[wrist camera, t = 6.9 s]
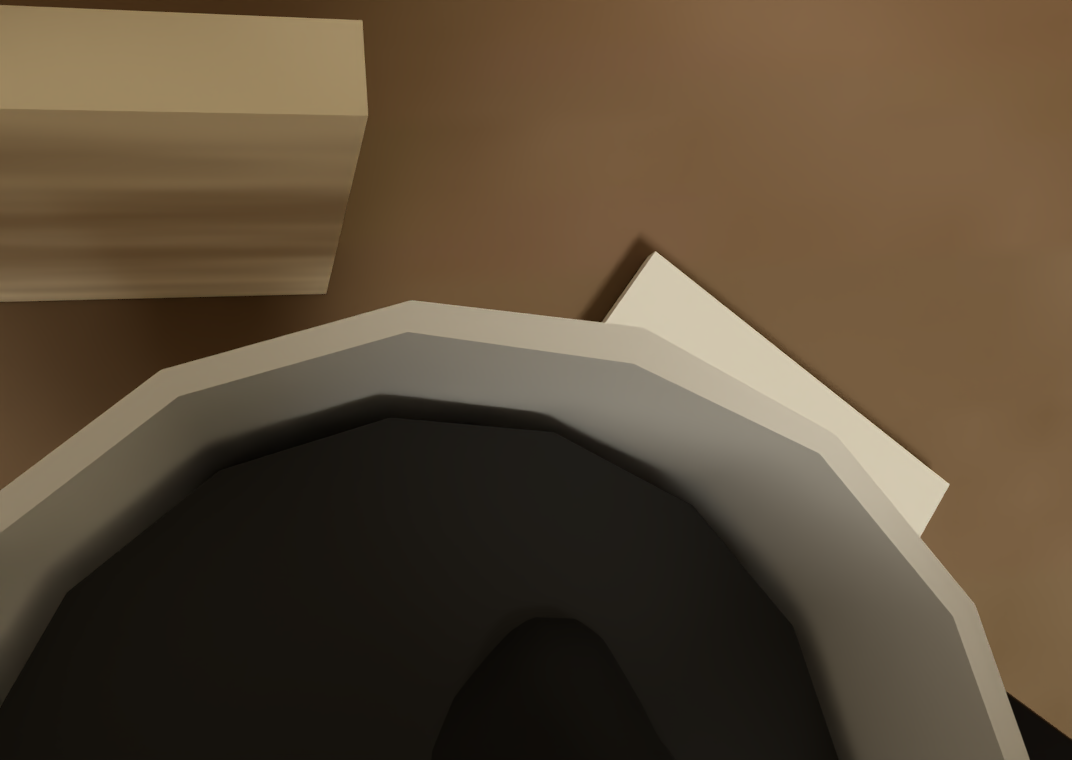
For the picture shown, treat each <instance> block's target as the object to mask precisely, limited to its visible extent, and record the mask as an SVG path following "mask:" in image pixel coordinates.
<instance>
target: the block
mask: <svg viewBox="0 0 1072 760" xmlns="http://www.w3.org/2000/svg"><path fill="white" fill-rule="evenodd" d="M367 119H368V104H367V88H366V72H365V56H364V39H363V23H362V20H343V19H319V18H295V17H272V16H248V15H224V14H200V13H177V12H153V11H129V10H105V9H82V8H58V7H34V6H10V5H0V302H15V301H56V300H96V299H137V298H177V297H218V296H259V295H299V294H326V292H327V288H328V284H329V280H330V276H331V271H332V267H333V263H334V259H335V254H336V250H337V246H338V242H339V237H340V233H341V229H342V225H343V220H344V216H345V212H346V208H347V203H348V199H349V195H350V191H351V186H352V182H353V178H354V174H355V170H356V165H357V161H358V157H359V153H360V148H361V144H362V140H363V136H364V131H365V127H366V123H367Z"/></svg>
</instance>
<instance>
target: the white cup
mask: <svg viewBox="0 0 1072 760" xmlns="http://www.w3.org/2000/svg"><path fill="white" fill-rule="evenodd" d="M0 760H1030V759H1029V756H1028V753H1027V750H1026V747H1025V745H1024V742H1023V739H1022V736H1021V733H1020V731H1019V728H1018V725H1017V722H1016V719H1015V716H1014V714H1013V711H1012V708H1011V705H1010V702H1009V699H1008V697H1007V694H1006V691H1005V688H1004V685H1003V682H1002V680H1001V677H1000V674H999V671H998V668H997V665H996V663H995V660H994V657H993V654H992V651H991V648H990V646H989V643H988V640H987V637H986V634H985V632H984V629H983V626H982V623H981V620H980V617H979V615H978V612H977V609H976V606H975V604H974V603H973V601H972V600H971V599H970V598H969V597H968V595H967V594H966V593H965V592H964V590H963V589H962V588H961V587H960V586H959V584H958V583H957V582H956V581H955V579H954V578H953V577H952V576H951V575H950V573H949V572H948V571H947V570H946V569H945V567H944V566H943V565H942V564H941V562H940V561H939V560H938V559H937V558H936V556H935V555H934V554H933V553H932V551H931V550H930V549H929V548H928V547H927V545H926V544H925V543H924V542H923V540H922V539H921V538H920V537H919V536H918V534H917V533H916V532H915V531H914V529H913V528H912V527H911V526H910V525H909V523H908V522H907V521H906V520H905V519H904V517H903V516H902V515H901V514H900V512H899V511H898V510H897V509H896V508H895V506H894V505H893V504H892V503H891V501H890V500H889V499H888V498H887V497H886V495H885V494H884V493H883V492H882V490H881V489H880V488H879V487H878V486H877V484H876V483H875V482H874V481H873V480H872V478H871V477H870V476H869V475H868V473H867V472H866V471H865V470H864V469H863V467H862V466H861V465H860V464H859V462H858V461H857V460H856V459H855V458H854V456H853V455H852V454H851V453H850V451H849V450H848V449H847V448H846V447H845V445H844V444H843V443H842V442H841V441H840V439H839V438H838V437H837V436H836V434H834V433H832V432H830V431H828V430H827V429H825V428H823V427H821V426H820V425H818V424H816V423H814V422H812V421H811V420H809V419H807V418H805V417H803V416H802V415H800V414H798V413H796V412H794V411H793V410H791V409H789V408H787V407H785V406H784V405H782V404H780V403H778V402H776V401H775V400H773V399H771V398H769V397H767V396H766V395H764V394H762V393H760V392H758V391H757V390H755V389H753V388H751V387H749V386H748V385H746V384H744V383H742V382H740V381H739V380H737V379H735V378H733V377H731V376H730V375H728V374H726V373H724V372H722V371H721V370H719V369H717V368H715V367H714V366H712V365H710V364H708V363H706V362H705V361H703V360H701V359H699V358H697V357H696V356H694V355H692V354H690V353H688V352H687V351H685V350H683V349H681V348H679V347H678V346H676V345H674V344H672V343H670V342H669V341H667V340H665V339H663V338H661V337H660V336H658V335H656V334H654V333H652V332H651V331H649V330H647V329H645V328H643V327H636V326H627V325H619V324H610V323H602V322H593V321H585V320H576V319H568V318H559V317H550V316H542V315H533V314H525V313H516V312H508V311H499V310H491V309H482V308H473V307H465V306H456V305H448V304H439V303H431V302H422V301H414V300H410V301H407V302H403V303H399V304H396V305H392V306H389V307H385V308H381V309H378V310H374V311H371V312H367V313H363V314H360V315H356V316H353V317H349V318H346V319H342V320H338V321H335V322H331V323H328V324H324V325H320V326H317V327H313V328H310V329H306V330H302V331H299V332H295V333H292V334H288V335H284V336H281V337H277V338H274V339H270V340H266V341H263V342H259V343H256V344H252V345H249V346H245V347H241V348H238V349H234V350H231V351H227V352H223V353H220V354H216V355H213V356H209V357H205V358H202V359H198V360H195V361H191V362H187V363H184V364H180V365H177V366H173V367H169V368H166V369H162V370H160V371H159V372H157V373H156V374H155V375H153V376H152V377H151V378H149V379H148V380H147V381H145V382H144V383H143V384H141V385H140V386H139V387H137V388H136V389H135V390H133V391H132V392H131V393H129V394H128V395H127V396H125V397H124V398H123V399H121V400H120V401H119V402H117V403H116V404H115V405H113V406H112V407H111V408H109V409H108V410H107V411H105V412H104V413H103V414H101V415H100V416H99V417H97V418H96V419H95V420H93V421H92V422H91V423H89V424H88V425H87V426H85V427H84V428H83V429H81V430H80V431H79V432H77V433H76V434H75V435H73V436H72V437H71V438H69V439H68V440H67V441H65V442H64V443H63V444H61V445H60V446H59V447H57V448H56V449H55V450H53V451H52V452H51V453H50V454H48V455H47V456H46V457H44V458H43V459H42V460H40V461H39V462H38V463H36V464H35V465H34V466H32V467H31V468H30V469H28V470H27V471H26V472H24V473H23V474H22V475H20V476H19V477H18V478H16V479H15V480H14V481H12V482H11V483H10V484H8V485H7V486H6V487H4V488H3V489H2V490H0Z"/></svg>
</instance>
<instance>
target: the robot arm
mask: <svg viewBox="0 0 1072 760" xmlns="http://www.w3.org/2000/svg"><path fill="white" fill-rule="evenodd" d="M1006 694H1007V697H1008V699H1009V702H1010V705H1011V708H1012V711H1013V714H1014V716H1015V719H1016V722H1017V725H1018V728H1019V731H1020V733H1021V736H1022V739H1023V742H1024V745H1025V747H1026V750H1027V753H1028V756H1029V759H1030V760H1072V739H1071V738H1069V737H1068V736H1066V735H1065V734H1064V733H1062V732H1061V731H1060V730H1058V729H1057V728H1056V727H1054V726H1053V725H1051V724H1050V723H1049V722H1047V721H1046V720H1045V719H1043V718H1042V717H1041V716H1039V715H1038V714H1036V713H1035V712H1034V711H1032V710H1031V709H1030V708H1028V707H1027V706H1026V705H1024V704H1023V703H1021V702H1020V701H1019V700H1017V699H1016V698H1015V697H1013V696H1012V695H1011V694H1009V693H1008V692H1006Z"/></svg>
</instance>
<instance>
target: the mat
mask: <svg viewBox="0 0 1072 760" xmlns="http://www.w3.org/2000/svg"><path fill="white" fill-rule="evenodd" d="M602 323H610V324H619V325H627V326H636V327H643V328H645V329H647V330H649V331H651V332H652V333H654V334H656V335H658V336H660V337H661V338H663V339H665V340H667V341H669V342H670V343H672V344H674V345H676V346H678V347H679V348H681V349H683V350H685V351H687V352H688V353H690V354H692V355H694V356H696V357H697V358H699V359H701V360H703V361H705V362H706V363H708V364H710V365H712V366H714V367H715V368H717V369H719V370H721V371H722V372H724V373H726V374H728V375H730V376H731V377H733V378H735V379H737V380H739V381H740V382H742V383H744V384H746V385H748V386H749V387H751V388H753V389H755V390H757V391H758V392H760V393H762V394H764V395H766V396H767V397H769V398H771V399H773V400H775V401H776V402H778V403H780V404H782V405H784V406H785V407H787V408H789V409H791V410H793V411H794V412H796V413H798V414H800V415H802V416H803V417H805V418H807V419H809V420H811V421H812V422H814V423H816V424H818V425H820V426H821V427H823V428H825V429H827V430H828V431H830V432H832V433H834V434H836V436H837V437H838V438H839V439H840V441H841V442H842V443H843V444H844V445H845V447H846V448H847V449H848V450H849V451H850V453H851V454H852V455H853V456H854V458H855V459H856V460H857V461H858V462H859V464H860V465H861V466H862V467H863V469H864V470H865V471H866V472H867V473H868V475H869V476H870V477H871V478H872V480H873V481H874V482H875V483H876V484H877V486H878V487H879V488H880V489H881V490H882V492H883V493H884V494H885V495H886V497H887V498H888V499H889V500H890V501H891V503H892V504H893V505H894V506H895V508H896V509H897V510H898V511H899V512H900V514H901V515H902V516H903V517H904V519H905V520H906V521H907V522H908V523H909V525H910V526H911V527H912V528H913V529H914V531H915V532H916V533H917V534H918V536H919V537H920V536H921V534H922V533H923V531H924V529H925V527H926V525H927V524H928V522H929V520H930V518H931V517H932V515H933V513H934V511H935V510H936V508H937V506H938V504H939V502H940V501H941V499H942V497H943V495H944V494H945V492H946V490H947V488H948V487H949V485H950V484H948V483H947V482H946V481H945V480H943V479H942V478H941V477H940V476H938V475H937V474H936V473H935V472H933V471H932V470H931V469H929V468H928V467H927V466H926V465H924V464H923V463H922V462H921V461H919V460H918V459H917V458H916V457H914V456H913V455H912V454H911V453H909V452H908V451H907V450H906V449H904V448H903V447H902V446H900V445H899V444H898V443H897V442H895V441H894V440H893V439H892V438H890V437H889V436H888V435H887V434H885V433H884V432H883V431H882V430H880V429H879V428H878V427H877V426H875V425H874V424H873V423H871V422H870V421H869V420H868V419H866V418H865V417H864V416H863V415H861V414H860V413H859V412H858V411H856V410H855V409H854V408H853V407H851V406H850V405H849V404H848V403H846V402H845V401H844V400H842V399H841V398H840V397H839V396H837V395H836V394H835V393H834V392H832V391H831V390H830V389H829V388H827V387H826V386H825V385H824V384H822V383H821V382H820V381H819V380H817V379H816V378H815V377H813V376H812V375H811V374H810V373H808V372H807V371H806V370H805V369H803V368H802V367H801V366H800V365H798V364H797V363H796V362H795V361H793V360H792V359H791V358H790V357H788V356H787V355H786V354H785V353H783V352H782V351H781V350H779V349H778V348H777V347H776V346H774V345H773V344H772V343H771V342H769V341H768V340H767V339H766V338H764V337H763V336H762V335H761V334H759V333H758V332H757V331H756V330H754V329H753V328H752V327H750V326H749V325H748V324H747V323H745V322H744V321H743V320H742V319H740V318H739V317H738V316H737V315H735V314H734V313H733V312H732V311H730V310H729V309H728V308H727V307H725V306H724V305H723V304H721V303H720V302H719V301H718V300H716V299H715V298H714V297H713V296H711V295H710V294H709V293H708V292H706V291H705V290H704V289H703V288H701V287H700V286H699V285H698V284H696V283H695V282H694V281H692V280H691V279H690V278H689V277H687V276H686V275H685V274H684V273H682V272H681V271H680V270H679V269H677V268H676V267H675V266H674V265H672V264H671V263H670V262H669V261H667V260H666V259H665V258H663V257H662V256H661V255H660V254H658V253H657V252H656V251H655V252H654V253H652V254H651V255H649V256H648V257H647V258H646V260H645V261H644V263H643V264H642V266H641V267H640V268H639V270H638V271H637V273H636V274H635V275H634V277H633V278H632V280H631V281H630V283H629V284H628V285H627V287H626V288H625V290H624V291H623V293H622V294H621V295H620V297H619V298H618V300H617V301H616V302H615V304H614V305H613V307H612V308H611V310H610V311H609V312H608V314H607V315H606V317H605V318H604V319H603V321H602Z"/></svg>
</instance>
